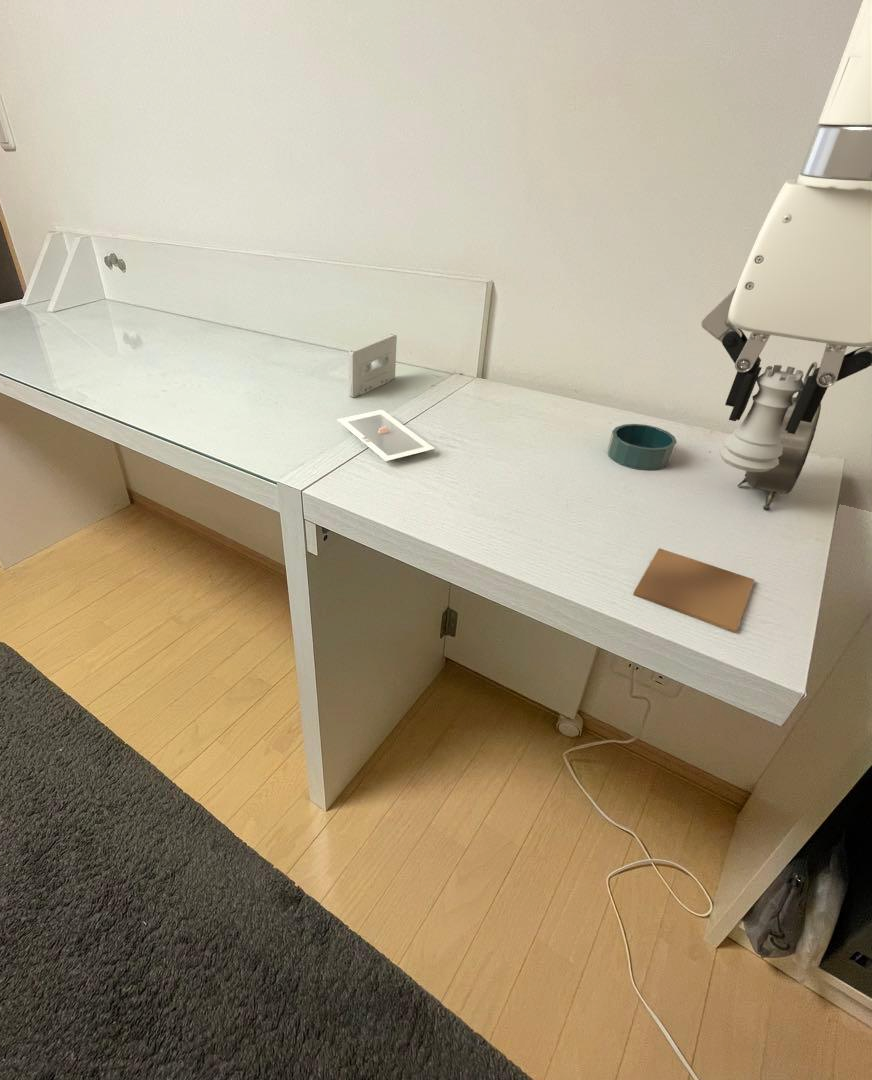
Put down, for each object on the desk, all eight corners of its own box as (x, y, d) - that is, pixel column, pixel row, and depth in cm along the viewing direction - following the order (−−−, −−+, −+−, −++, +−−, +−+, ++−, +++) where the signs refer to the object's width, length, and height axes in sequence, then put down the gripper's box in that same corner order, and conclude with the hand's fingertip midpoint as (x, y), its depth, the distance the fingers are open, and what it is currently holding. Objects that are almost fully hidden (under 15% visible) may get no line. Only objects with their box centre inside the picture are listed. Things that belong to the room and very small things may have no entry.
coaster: (753, 582, 61) (754, 579, 61) (735, 633, 55) (737, 630, 55) (658, 550, 66) (659, 547, 65) (632, 594, 60) (634, 591, 60)
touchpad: (381, 416, 96) (382, 403, 94) (434, 455, 84) (435, 441, 83) (336, 426, 93) (336, 412, 92) (385, 468, 82) (385, 453, 81)
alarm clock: (781, 519, 70) (847, 383, 61) (728, 506, 72) (783, 373, 63) (785, 478, 77) (844, 351, 68) (737, 468, 80) (787, 344, 70)
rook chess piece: (739, 445, 55) (775, 357, 50) (788, 466, 51) (832, 374, 47) (705, 456, 53) (739, 366, 49) (754, 478, 50) (795, 385, 45)
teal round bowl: (676, 453, 84) (682, 433, 82) (660, 476, 79) (667, 455, 77) (617, 438, 88) (622, 419, 86) (599, 459, 83) (604, 439, 81)
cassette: (354, 399, 101) (354, 353, 97) (346, 396, 102) (345, 351, 98) (397, 378, 109) (399, 334, 104) (389, 375, 110) (390, 332, 105)
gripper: (1042, 158, 38) (890, 430, 48) (741, 153, 46) (668, 385, 57) (1059, 168, 33) (887, 467, 44) (720, 160, 41) (645, 413, 52)
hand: (764, 419), depth 50 cm, fingers closed on rook chess piece, 3 cm apart
